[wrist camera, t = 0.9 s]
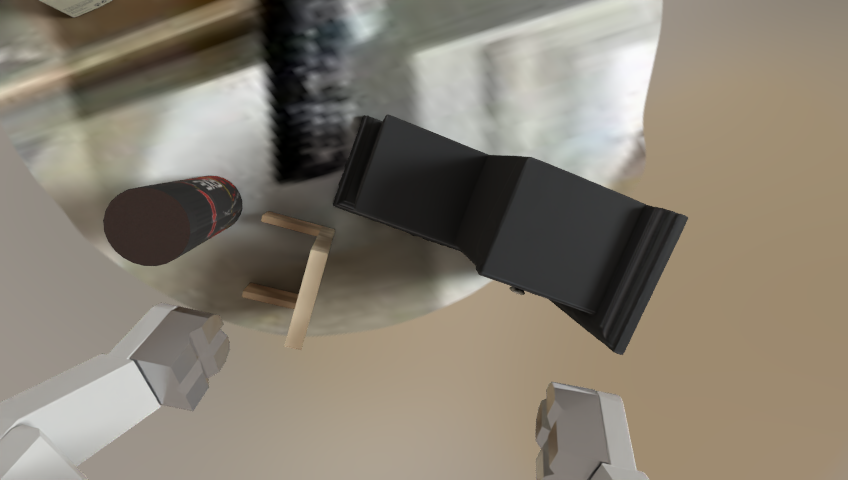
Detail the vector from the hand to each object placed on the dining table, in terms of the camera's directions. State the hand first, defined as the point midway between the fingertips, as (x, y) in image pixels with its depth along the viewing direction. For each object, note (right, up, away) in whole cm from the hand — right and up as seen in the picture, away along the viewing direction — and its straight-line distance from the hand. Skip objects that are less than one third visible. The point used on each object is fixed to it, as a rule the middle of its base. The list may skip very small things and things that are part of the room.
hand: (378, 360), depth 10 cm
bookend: (+3, +8, +40) cm, 41 cm away
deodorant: (-22, +7, +36) cm, 43 cm away
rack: (-14, +1, +38) cm, 41 cm away
